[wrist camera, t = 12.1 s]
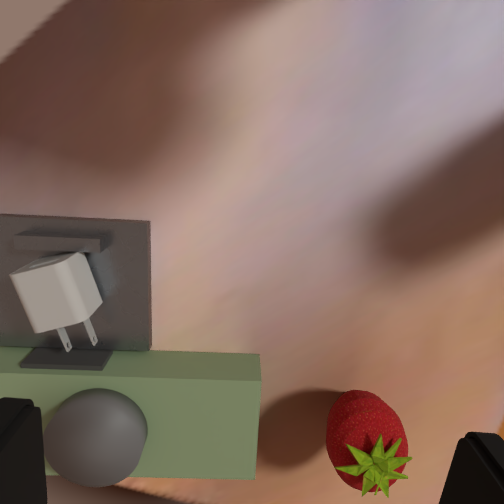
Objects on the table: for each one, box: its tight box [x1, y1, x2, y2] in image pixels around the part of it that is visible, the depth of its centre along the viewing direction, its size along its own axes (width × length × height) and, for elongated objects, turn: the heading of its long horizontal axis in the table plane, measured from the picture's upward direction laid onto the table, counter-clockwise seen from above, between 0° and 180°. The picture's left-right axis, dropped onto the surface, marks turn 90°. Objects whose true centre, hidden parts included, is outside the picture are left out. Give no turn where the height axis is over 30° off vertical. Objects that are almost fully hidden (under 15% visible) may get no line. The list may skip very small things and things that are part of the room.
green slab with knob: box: [0, 346, 262, 487], centre depth 31 cm, size 9×24×6 cm, turn 87°
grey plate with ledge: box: [0, 214, 152, 351], centre depth 30 cm, size 10×12×2 cm
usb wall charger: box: [9, 252, 103, 352], centre depth 29 cm, size 4×7×4 cm, turn 14°
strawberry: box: [326, 390, 412, 497], centre depth 30 cm, size 6×8×10 cm
